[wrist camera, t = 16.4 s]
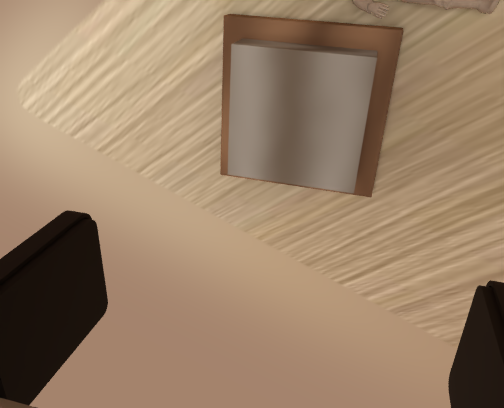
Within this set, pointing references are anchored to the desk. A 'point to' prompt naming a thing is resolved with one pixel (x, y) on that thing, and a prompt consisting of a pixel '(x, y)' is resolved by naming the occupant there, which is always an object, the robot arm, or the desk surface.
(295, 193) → the desk surface
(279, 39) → the tower pedestal
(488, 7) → the soldier figure
